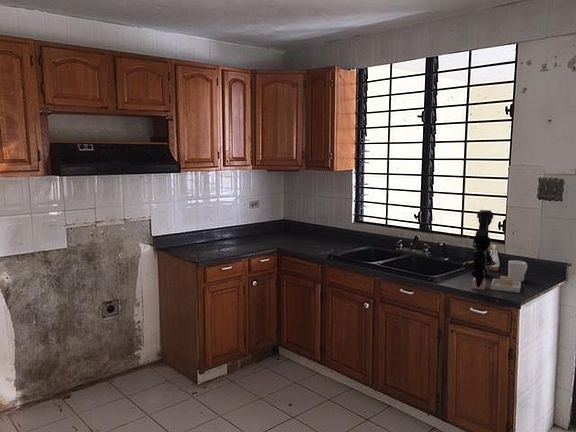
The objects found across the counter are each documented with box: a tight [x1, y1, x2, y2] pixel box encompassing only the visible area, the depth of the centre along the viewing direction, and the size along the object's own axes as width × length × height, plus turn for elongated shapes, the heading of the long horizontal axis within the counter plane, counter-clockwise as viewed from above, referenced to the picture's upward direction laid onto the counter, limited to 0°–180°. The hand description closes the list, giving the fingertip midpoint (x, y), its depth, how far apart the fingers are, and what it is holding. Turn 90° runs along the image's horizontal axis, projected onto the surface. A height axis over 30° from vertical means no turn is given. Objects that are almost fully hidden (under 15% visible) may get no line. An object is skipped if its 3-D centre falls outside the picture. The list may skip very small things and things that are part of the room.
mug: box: [507, 259, 528, 283], centre depth 272 cm, size 11×9×10 cm
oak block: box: [499, 275, 513, 287], centre depth 256 cm, size 6×6×5 cm
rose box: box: [471, 277, 487, 291], centre depth 257 cm, size 6×6×4 cm
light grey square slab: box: [490, 278, 522, 294], centre depth 256 cm, size 14×14×2 cm
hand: (478, 285), depth 257 cm, fingers closed on rose box, 6 cm apart
